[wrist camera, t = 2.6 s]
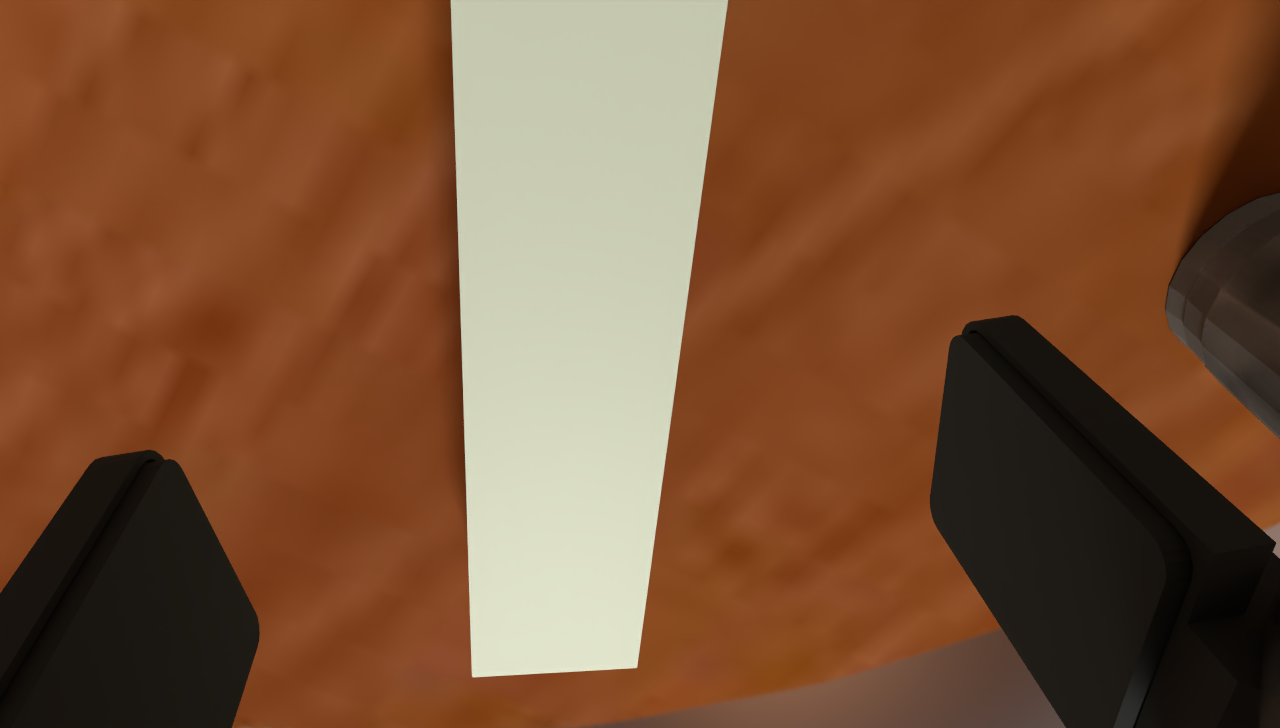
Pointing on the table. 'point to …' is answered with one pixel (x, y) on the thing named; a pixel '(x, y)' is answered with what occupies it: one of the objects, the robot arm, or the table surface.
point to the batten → (573, 307)
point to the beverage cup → (1235, 305)
